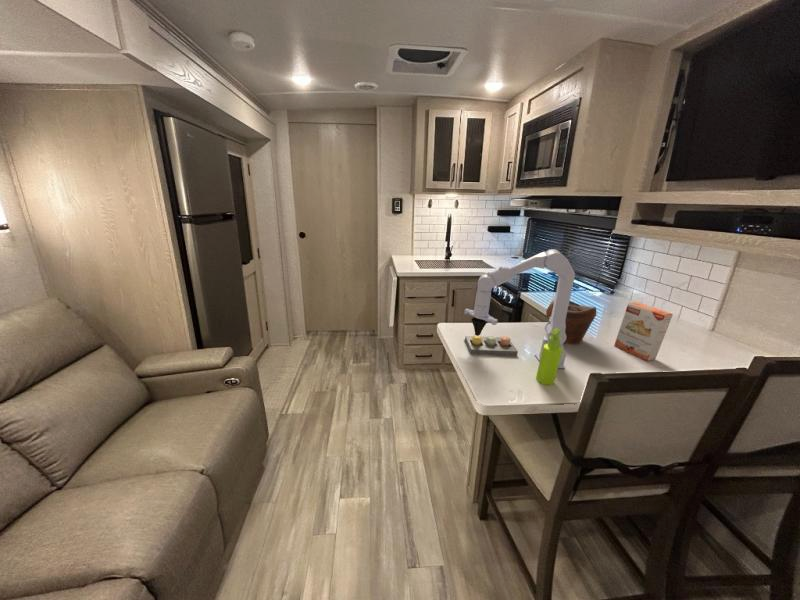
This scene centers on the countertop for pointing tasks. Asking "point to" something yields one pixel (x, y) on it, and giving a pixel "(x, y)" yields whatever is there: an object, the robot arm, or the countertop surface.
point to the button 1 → (476, 340)
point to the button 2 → (505, 341)
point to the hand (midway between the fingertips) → (477, 334)
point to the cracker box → (642, 330)
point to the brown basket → (576, 321)
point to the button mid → (490, 341)
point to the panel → (490, 347)
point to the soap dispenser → (550, 359)
